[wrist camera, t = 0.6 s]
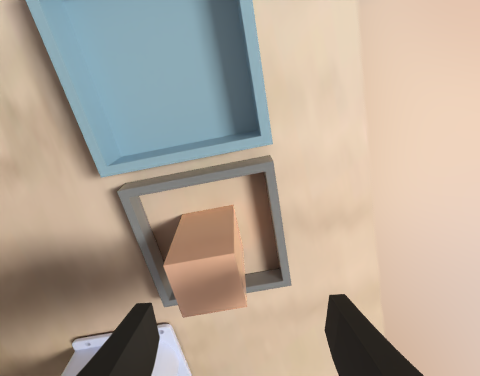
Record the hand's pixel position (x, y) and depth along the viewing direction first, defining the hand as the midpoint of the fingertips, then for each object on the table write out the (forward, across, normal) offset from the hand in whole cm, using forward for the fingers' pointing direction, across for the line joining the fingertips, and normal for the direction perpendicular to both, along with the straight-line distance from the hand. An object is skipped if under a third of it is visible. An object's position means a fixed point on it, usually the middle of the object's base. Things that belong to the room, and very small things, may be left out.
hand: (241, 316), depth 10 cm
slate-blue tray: (+10, +4, -10) cm, 14 cm away
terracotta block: (+10, +2, +2) cm, 10 cm away
